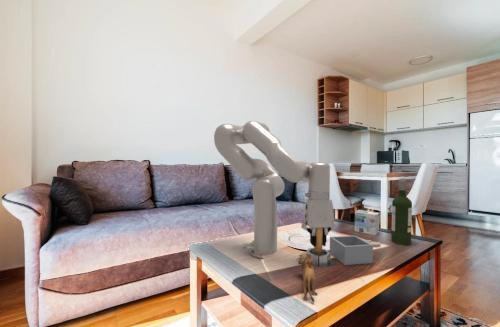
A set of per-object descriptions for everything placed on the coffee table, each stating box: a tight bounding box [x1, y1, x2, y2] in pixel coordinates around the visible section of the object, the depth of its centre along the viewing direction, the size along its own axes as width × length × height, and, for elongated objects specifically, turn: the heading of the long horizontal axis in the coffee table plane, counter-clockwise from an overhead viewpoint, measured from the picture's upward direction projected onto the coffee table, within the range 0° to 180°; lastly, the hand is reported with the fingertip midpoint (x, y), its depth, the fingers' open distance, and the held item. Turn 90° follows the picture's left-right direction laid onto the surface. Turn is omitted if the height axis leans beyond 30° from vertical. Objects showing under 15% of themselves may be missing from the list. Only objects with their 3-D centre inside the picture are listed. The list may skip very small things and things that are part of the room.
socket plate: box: [298, 247, 340, 268], centre depth 91 cm, size 11×11×4 cm
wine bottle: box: [390, 177, 413, 246], centre depth 115 cm, size 8×8×30 cm
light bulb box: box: [354, 209, 380, 236], centre depth 131 cm, size 11×7×11 cm, turn 50°
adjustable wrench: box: [364, 239, 381, 248], centre depth 108 cm, size 25×6×2 cm, turn 113°
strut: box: [311, 228, 325, 255], centre depth 91 cm, size 5×5×16 cm
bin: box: [329, 235, 374, 266], centre depth 93 cm, size 11×11×8 cm
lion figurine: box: [296, 252, 318, 303], centre depth 73 cm, size 15×5×9 cm, turn 179°
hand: (318, 244), depth 91 cm, fingers closed on strut, 3 cm apart
